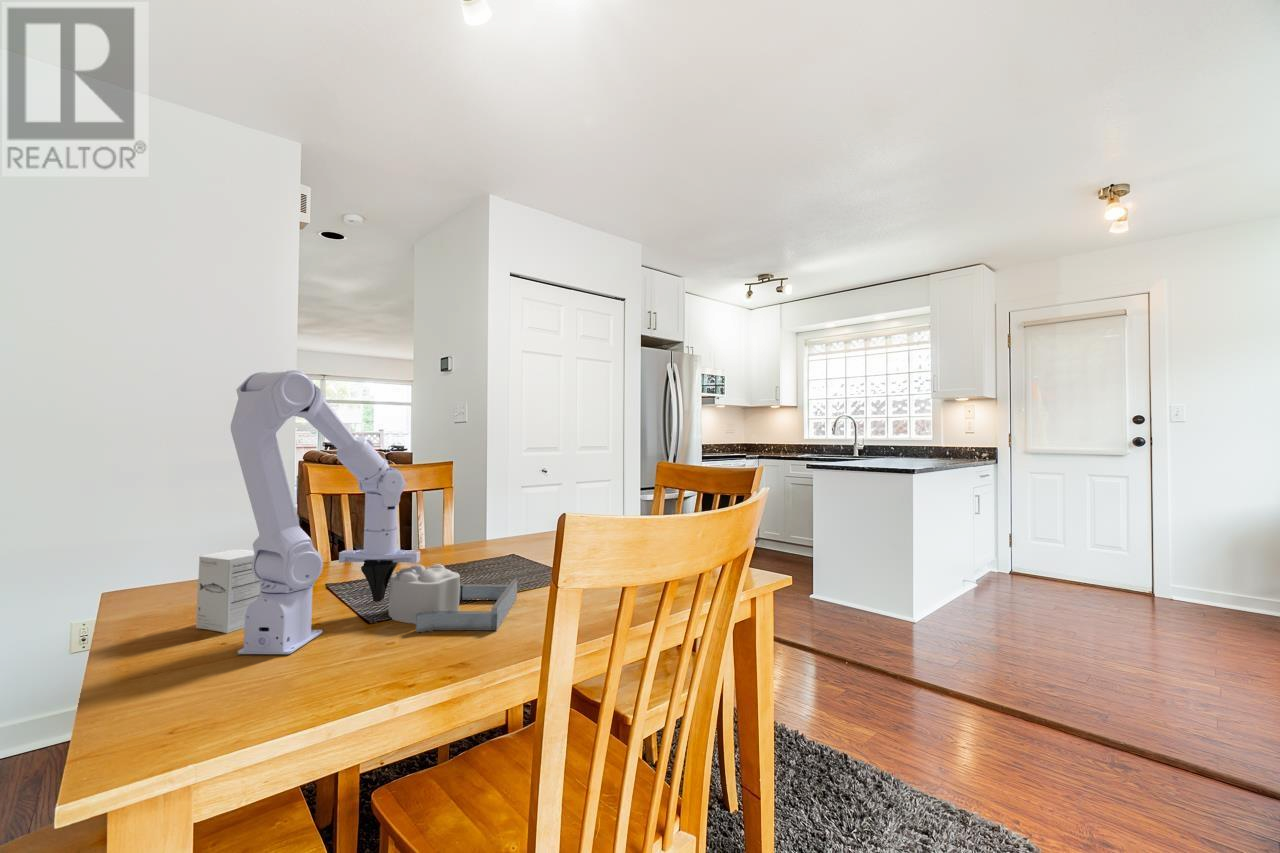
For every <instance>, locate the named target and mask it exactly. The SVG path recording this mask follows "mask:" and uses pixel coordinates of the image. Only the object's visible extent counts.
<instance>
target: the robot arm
mask: <svg viewBox="0 0 1280 853" xmlns="http://www.w3.org/2000/svg"><path fill="white" fill-rule="evenodd" d="M236 394H237V398H238V399H237V402H236V405H235V408H234V412H233V415H232V419H231V423H230V432H231V436H232V440H233V444H234V447H235V451H236V454H237V458H238V463H239V465H240V466H239V467H240V469H241V472H242V477H243V480H244V484H245V488H246V492H247V495H248V498H249V502H250V505H251V510H252V513H253V516H254V520H255V524H256V528H257V530H258V536H257V538H256V539H255V540H254V541H253V542H252V548H253V551H254V558H253V562H252V570H253V573H254V575H255V576H256V577H257V578H258V579H260V594H259V596H258V598H257V599H256V600H255V601H254V602H252V603H251V604H250V606H249V607H248V608H247V610H246V613H245V628H244V629H243V630H244V632H243V633H244V634H243V636H244V637H243V647H241V648H240V649H238V650H237V654H238V655H291V654H292V653H294V652H295V651H296V650H298V649H300V648H301V647H303V646H304V645H306V644H307V643H309V642H311V641H312V640H313V639H315V638H316V637H319V636H320V635H321V634H322V633H323V629H312V620H313V619H312V616H313V614H312V613H313V588H314V587H315V582H316V581H317V580H318V579H319V577H320V576H321V574H322V572H323V569H324V568H323V567H324V560H323V557H322V555H321V554H320V553H319V551H317V550H316V549H315V547H314V544H313V542H312V539H311V537H310V536H309V535H308V534H307V533H306V532H305V530H303V528H302V527H300V524H299V520H298V516H297V512H296V509H295V505H294V501H293V497H292V493H291V489H290V485H289V481H288V478H287V474H286V471H285V465H284V462H283V458H282V454H281V450H280V447H279V443H278V440H277V433H278V431H279V430H280V429H281V427H283V425H284V424H285V423H286V422H287V421H288V420H289V419H290V418H292V417H298V418H302V419H304V420H306V421H307V422H308V423H309V424H310V425H311V426H312V427H313V428H314V429H316V430H317V431H318V432H319V433H320V434H321V435H322V436H323V437H324V438H325V439H326V440H328V441H329V443H331V444H332V445H333V446H334V447H335V448H336V449H337V451H336V459H337V460H338V461H339V462H340V463H341V464H342V465H343V466H344V467H345V468H346V469H347V470H348V471H349V472H350V473H351V474H352V476H353V477H355V478H356V479H357V486H358V489H359V491H360V492H363V493H364V494H365V495H364V496H365V500H364V501H365V502H364V527H363V530H364V531H363V549H355V550H354V549H353V550H352V549H351V550H346V549H345V550H342V551H340V552H338V563H339V564H341V563H363V565H362V566H361V567H360V571H361V572H362V573H363V575H364V577H365V578H366V581H367V583H368V586H369V589H370V592H371V597H372V602H377V603H378V602H381V601H382V600H384V599H385V594H386V590H387V587H388V584H389V583H390V576H391V575H392V574H394V573H393V572H394V571H395V569H396V568H397V566H398V563H410V564H418V563H419V562H420V561H421V551H420V550H418V551H416V550H405V549H397V547H398V546H397V544H398V543H397V542H398V513H399V510H398V508H399V504H400V502H401V495H402V493H403V492H404V491H405V490H404V489H405V488H406V485H407V481H406V480H405V479H404V476H403V474H402V472H401V471H400V470H399V469H398V468H396V467H392V466H391V467H390V465H389V463H388V462H389V461H388V460H387V459H386V458H383V457H382V455H381V454H379V452H378V451H377V450H376V449H375V447H373V446H374V443H373V441H372V440H371V439H366V438H365V437H362V436H355V435H354V434H353V433H352V432H351V431H350V430H349V428H348V427H347V425H346V424H345V423H344V422H343V420H342V419H341V418H340V417H339V416H338V414H337V413H336V412H335V411H334V409H333V408H332V407H331V405H330V404H329V403H328V402H327V400H326V399H325V397H324V395H323V391H322V389H321V388H320V387H319V386H318V385H316V384H314V382H313V380H312V379H311V378H310V377H309V375H307V374H306V373H305V372H302V371H301V370H296V369H295V370H294V369H291V370H290V369H289V370H286V371H275V372H273V371H272V372H267V371H260V372H255V373H252V374H251V375H249V376H248V377H247V378H246V379H245V380H244V381H243V382H242V383H241V384H240V385H239V386H238V387H237V388H236Z"/></svg>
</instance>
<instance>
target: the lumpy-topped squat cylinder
mask: <svg viewBox="0 0 1280 853" xmlns="http://www.w3.org/2000/svg"><path fill="white" fill-rule="evenodd" d="M460 584H461V575H460V573H458V572H455V571H452V570H451V569H448V568H446V567H445V565H443V564H440V563H435V564H433V565H431V566H430V567H425V566H424V565H422V564H413V565H411V567H403V568H401V569H400V570H399V571H398V570H397V571H396V572H394V573H392V575H391V576H390V580H389V587H388V588H389V591H388V592H389V595H388V596H389V597H388V616H389V617H391V618H392V619H391V618H390V619H391V620H393V621H397V622H401V623H406V624H411V623H412V624H411V625H416V613H421V612H430V611H435V612H436V611H460V600H459V594H460Z"/></svg>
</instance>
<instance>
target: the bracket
mask: <svg viewBox="0 0 1280 853" xmlns="http://www.w3.org/2000/svg"><path fill="white" fill-rule="evenodd" d="M516 598H517V599H518V579H512V580H511V581H510V583H509V584H484V583H483V584H482V583H481V584H477V583H475V584H471V583H470V584H469V583H467V584H466V583H460V594H459V599H462V600H466V599H467V600H468V599H469V600H470V599H485V600H487V599H488V600H497V601H495V603H494V604H493V605H492V607H491V610H459V611H436V612H435V611H430V612H421V613H416V624H415V632H417V633H416V634H419V633H418V632H422V633H426V632H425V631H429V632H434V631H433V630H497V629H498V630H499V628H500V627H501V625H502V623H503V622H502V621H504V620H505V619H504V618H506V617H507V616H508V614H509V612H510V611H511V609H512V607H513V606H514V604H515V603H514V601H515V600H516V601H517V599H516ZM462 600H461V601H462ZM516 601H515V602H516ZM513 603H514V604H513ZM512 605H513V606H512ZM511 606H512V607H511ZM510 608H511V609H510ZM509 610H510V611H509ZM508 611H509V612H508ZM507 613H508V614H507ZM505 616H506V617H505ZM503 619H504V620H503ZM501 622H502V623H501ZM500 624H501V625H500ZM499 626H500V627H499ZM498 627H499V628H498ZM498 630H497V631H498Z"/></svg>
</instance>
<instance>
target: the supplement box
mask: <svg viewBox="0 0 1280 853" xmlns="http://www.w3.org/2000/svg"><path fill="white" fill-rule="evenodd" d="M253 558H254V549H253V550H251V549H242V548H237V549H236V548H235V549H229V550H224V551H220V552H214V553H207V554H205V555H200V556H199V560H198V580H197V581H198V582H197V603H196V604H197V605H196V624H195V628H196V629H201V630H209V631H215V632H219V633H223V634H229V633H233V632H235V631H239V630H242V629H245V613H246V610H247V608H248V607H249V606H250V604H251V603H252V602H254V601H255V600H256V599H257V598H258V596H259V594H260V579H258V578H257V577H256V576H255V575H254V573H253V570H252V562H253Z"/></svg>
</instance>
